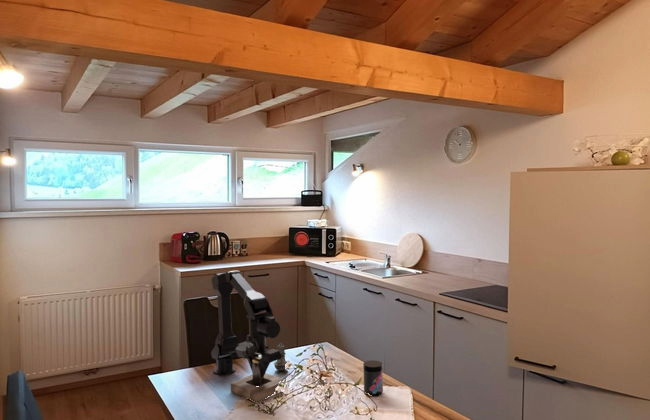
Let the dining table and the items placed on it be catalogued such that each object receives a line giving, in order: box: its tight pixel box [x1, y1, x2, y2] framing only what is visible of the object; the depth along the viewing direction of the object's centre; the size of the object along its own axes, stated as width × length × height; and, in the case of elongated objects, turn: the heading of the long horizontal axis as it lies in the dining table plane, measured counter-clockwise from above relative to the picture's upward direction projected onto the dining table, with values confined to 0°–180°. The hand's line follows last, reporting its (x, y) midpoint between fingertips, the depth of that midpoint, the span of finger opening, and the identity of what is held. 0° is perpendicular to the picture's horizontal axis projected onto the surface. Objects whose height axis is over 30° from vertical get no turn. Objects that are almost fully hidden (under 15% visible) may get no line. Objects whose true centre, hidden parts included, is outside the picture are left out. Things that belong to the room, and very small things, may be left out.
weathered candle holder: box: [273, 342, 289, 376], centre depth 189 cm, size 6×6×12 cm
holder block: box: [230, 372, 283, 403], centre depth 171 cm, size 14×14×4 cm
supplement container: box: [363, 359, 384, 397], centre depth 168 cm, size 7×7×10 cm
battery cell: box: [251, 356, 264, 386], centre depth 171 cm, size 4×4×9 cm
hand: (258, 375), depth 171 cm, fingers closed on battery cell, 4 cm apart
